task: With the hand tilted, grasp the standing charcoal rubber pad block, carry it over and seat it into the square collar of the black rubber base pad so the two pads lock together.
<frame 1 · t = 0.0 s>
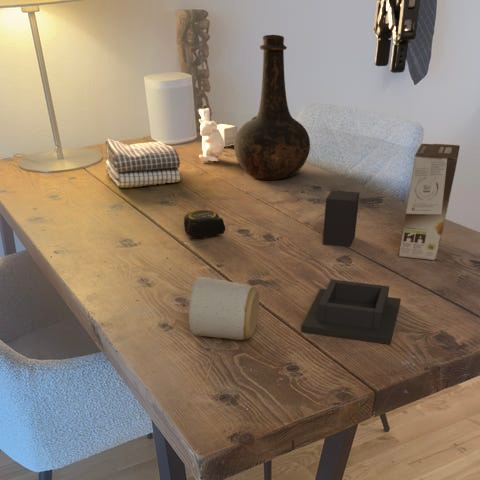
hand: (388, 68, 93), 25 cm above the table, tool pointing down, fingers open, 8 cm apart
glass bottle: (271, 176, 136), on the table
off-white cylinder: (226, 330, 78), on the table
towel: (143, 178, 137), on the table
white upright figurine: (210, 161, 148), on the table
base pad: (352, 317, 80), on the table
small box: (224, 145, 161), on the table
plug pad: (338, 240, 103), on the table
tape measure: (205, 237, 106), on the table
coffee box: (419, 250, 99), on the table
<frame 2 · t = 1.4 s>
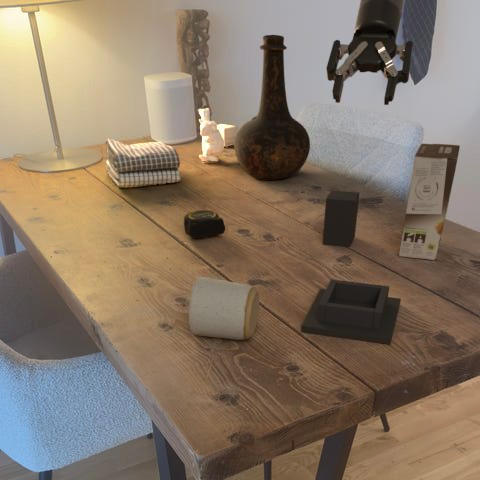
hand: (361, 100, 98), 21 cm above the table, tool tilted 45°, fingers open, 8 cm apart
nothing on the table moved.
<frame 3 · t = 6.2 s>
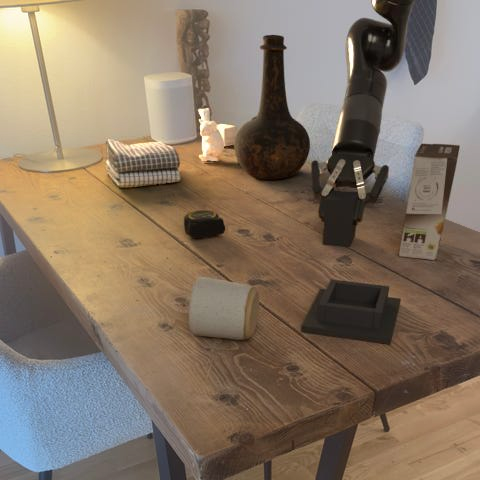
hand: (339, 221, 99), 4 cm above the table, tool tilted 45°, fingers closed on plug pad, 5 cm apart
plug pad: (338, 240, 103), on the table, touching gripper
everything else where it was.
when the fingers open (5 cm above the table, at t = 16.8 s): plug pad stays where it is, resting on base pad.
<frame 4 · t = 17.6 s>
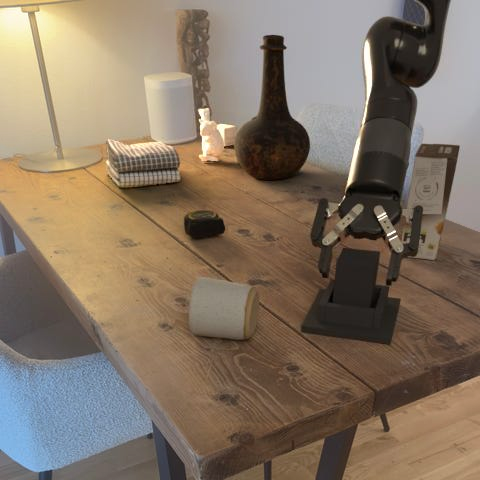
hand: (356, 279, 75), 6 cm above the table, tool tilted 45°, fingers open, 8 cm apart
plug pad: (352, 311, 79), point 1 cm above the table, touching base pad
everything else where it was.
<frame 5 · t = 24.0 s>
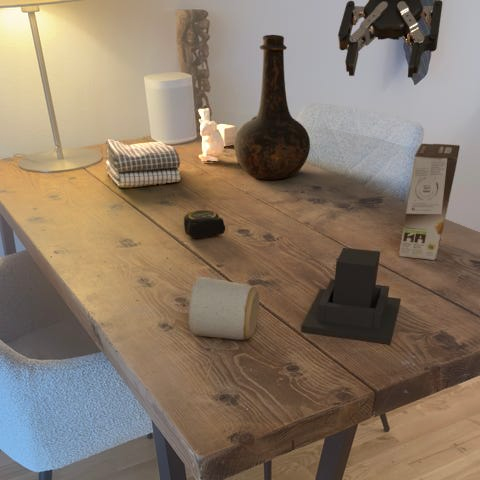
hand: (380, 72, 82), 27 cm above the table, tool tilted 45°, fingers open, 8 cm apart
nothing on the table moved.
at the end: plug pad 0.1 cm off-centre on the base pad, point 1.0 cm above the base pad's base; plug pad tilted 0°; the gripper is holding nothing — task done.
